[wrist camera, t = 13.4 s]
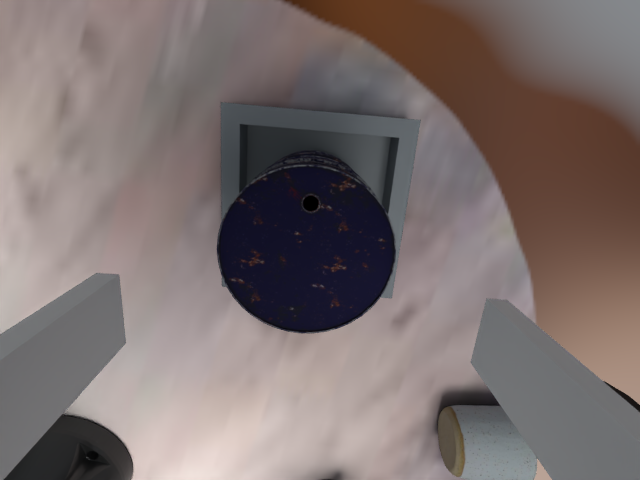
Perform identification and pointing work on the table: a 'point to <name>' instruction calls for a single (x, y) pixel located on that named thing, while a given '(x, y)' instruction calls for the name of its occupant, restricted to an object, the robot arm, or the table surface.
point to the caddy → (322, 135)
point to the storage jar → (306, 244)
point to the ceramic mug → (483, 444)
